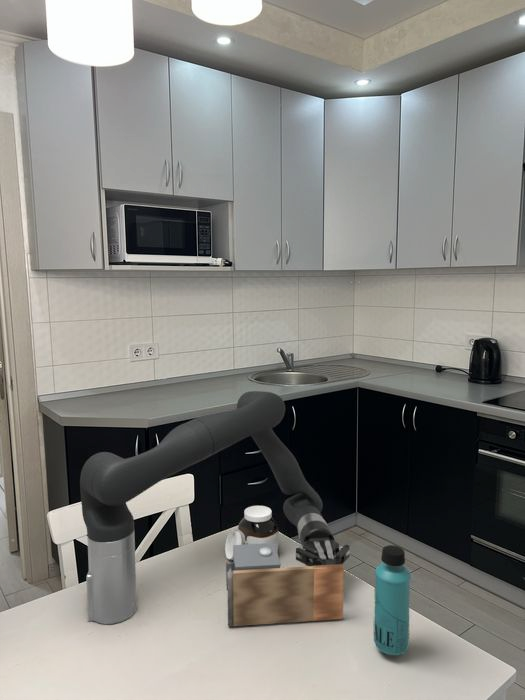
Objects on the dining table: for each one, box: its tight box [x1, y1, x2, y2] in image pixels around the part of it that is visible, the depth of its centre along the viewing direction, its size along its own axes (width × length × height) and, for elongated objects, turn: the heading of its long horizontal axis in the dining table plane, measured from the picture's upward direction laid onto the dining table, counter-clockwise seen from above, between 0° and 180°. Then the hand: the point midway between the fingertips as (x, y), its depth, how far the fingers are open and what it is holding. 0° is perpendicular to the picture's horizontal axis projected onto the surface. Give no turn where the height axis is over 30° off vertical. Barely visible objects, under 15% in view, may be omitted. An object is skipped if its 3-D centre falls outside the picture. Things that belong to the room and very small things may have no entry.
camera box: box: [225, 543, 281, 592], centre depth 108 cm, size 11×9×13 cm
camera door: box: [226, 564, 345, 628], centre depth 103 cm, size 23×1×11 cm, turn 96°
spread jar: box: [224, 505, 280, 561], centre depth 129 cm, size 12×11×12 cm
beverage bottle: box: [373, 544, 412, 656], centre depth 94 cm, size 6×7×20 cm
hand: (332, 573), depth 108 cm, fingers closed
